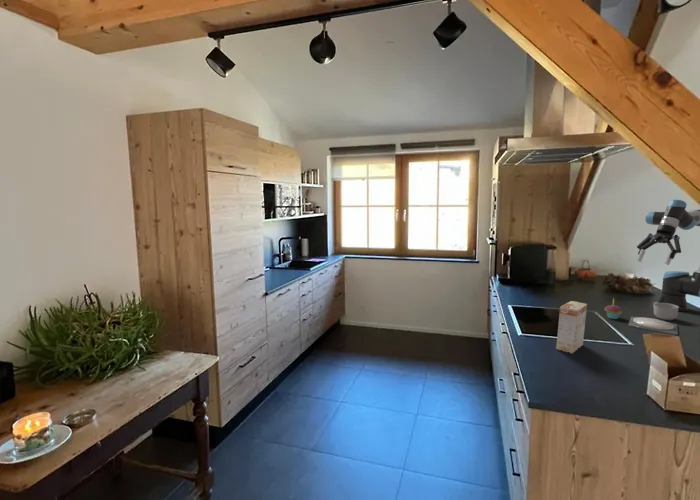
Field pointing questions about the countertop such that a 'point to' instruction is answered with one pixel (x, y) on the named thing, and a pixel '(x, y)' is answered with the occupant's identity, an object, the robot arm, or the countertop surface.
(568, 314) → the coffeecake box
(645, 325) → the dish
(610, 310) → the cupcake
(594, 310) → the countertop surface
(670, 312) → the teacup
